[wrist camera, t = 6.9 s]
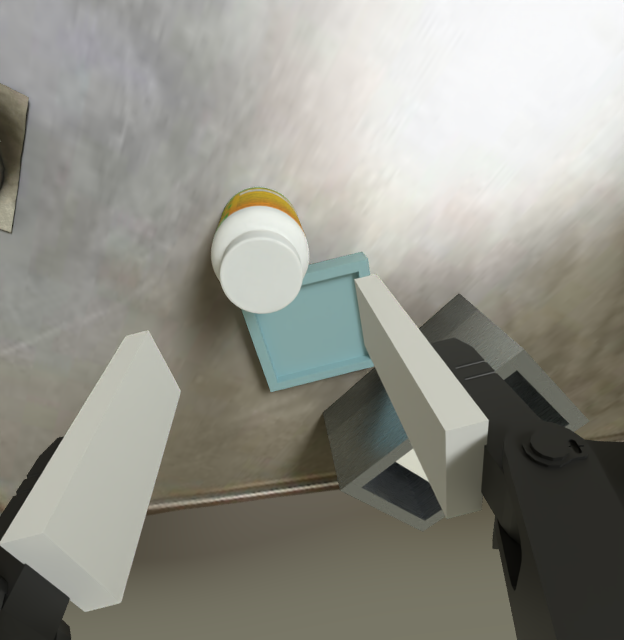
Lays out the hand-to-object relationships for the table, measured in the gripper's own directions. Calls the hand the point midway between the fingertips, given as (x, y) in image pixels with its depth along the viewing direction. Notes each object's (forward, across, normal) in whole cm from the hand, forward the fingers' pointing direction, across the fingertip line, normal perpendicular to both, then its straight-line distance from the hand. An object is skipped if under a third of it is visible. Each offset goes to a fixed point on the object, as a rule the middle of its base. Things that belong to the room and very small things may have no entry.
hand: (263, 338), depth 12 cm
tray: (+15, -2, +9) cm, 18 cm away
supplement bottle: (+15, 0, 0) cm, 15 cm away
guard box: (+15, -11, +19) cm, 27 cm away
